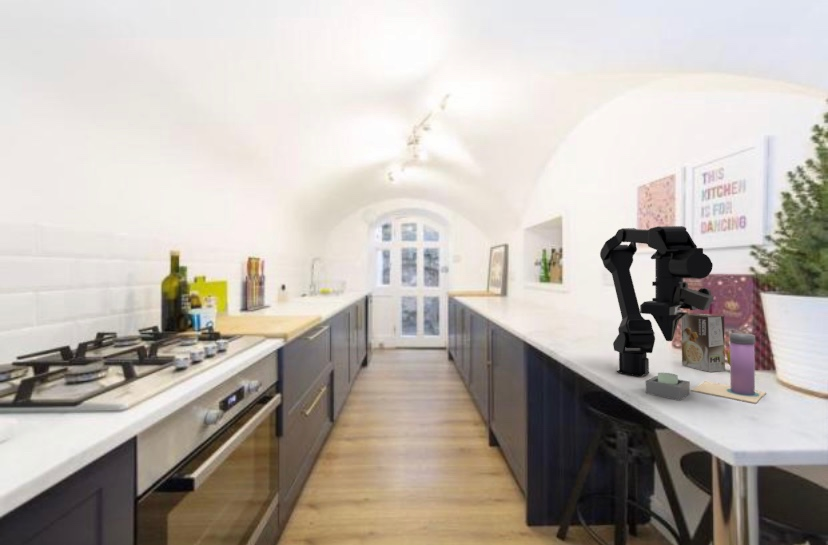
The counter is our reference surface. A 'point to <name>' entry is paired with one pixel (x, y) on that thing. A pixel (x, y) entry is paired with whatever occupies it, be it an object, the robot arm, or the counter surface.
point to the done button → (668, 378)
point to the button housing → (668, 388)
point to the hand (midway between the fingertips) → (669, 341)
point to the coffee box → (703, 342)
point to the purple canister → (742, 363)
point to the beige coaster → (727, 392)
